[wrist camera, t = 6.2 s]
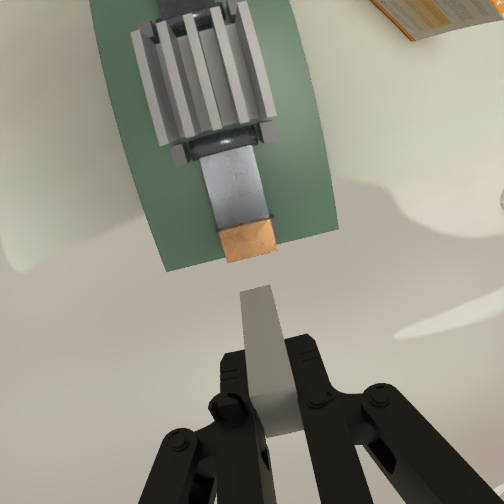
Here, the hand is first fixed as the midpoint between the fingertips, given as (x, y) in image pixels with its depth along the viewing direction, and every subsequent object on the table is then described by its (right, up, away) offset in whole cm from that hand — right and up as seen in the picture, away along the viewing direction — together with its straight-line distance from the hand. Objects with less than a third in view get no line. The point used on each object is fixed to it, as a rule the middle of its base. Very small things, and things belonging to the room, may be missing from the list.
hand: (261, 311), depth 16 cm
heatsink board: (-4, +17, +8) cm, 19 cm away
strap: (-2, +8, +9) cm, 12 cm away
